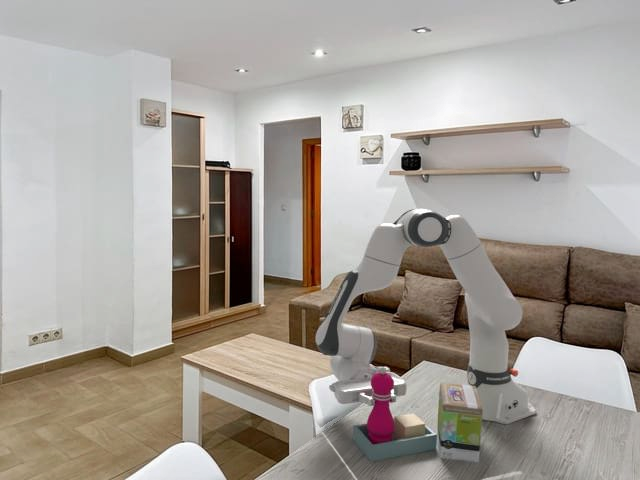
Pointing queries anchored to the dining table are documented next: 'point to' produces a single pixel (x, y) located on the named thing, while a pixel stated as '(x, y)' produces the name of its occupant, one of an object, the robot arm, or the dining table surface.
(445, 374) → the dining table surface
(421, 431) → the tan wooden cube
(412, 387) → the dining table surface
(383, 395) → the pepper mill
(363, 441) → the box
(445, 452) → the tea box
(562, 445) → the dining table surface
